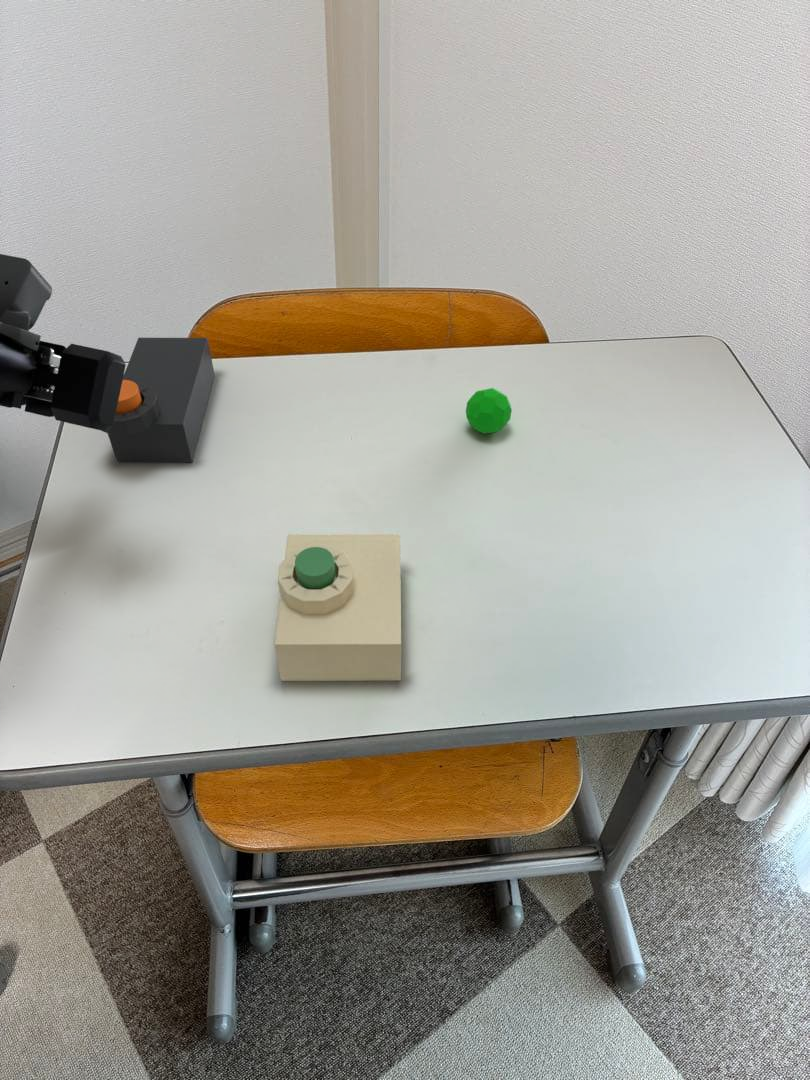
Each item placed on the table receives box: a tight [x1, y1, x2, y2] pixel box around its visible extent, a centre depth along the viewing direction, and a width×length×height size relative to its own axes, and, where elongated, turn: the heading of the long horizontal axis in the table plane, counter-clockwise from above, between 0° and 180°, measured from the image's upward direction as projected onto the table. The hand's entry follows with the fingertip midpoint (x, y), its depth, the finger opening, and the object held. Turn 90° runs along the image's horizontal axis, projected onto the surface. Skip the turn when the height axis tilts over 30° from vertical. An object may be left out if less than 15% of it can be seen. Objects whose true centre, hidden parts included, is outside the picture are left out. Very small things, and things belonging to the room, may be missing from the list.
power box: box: [274, 534, 402, 682], centre depth 68 cm, size 10×12×7 cm
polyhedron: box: [465, 387, 513, 435], centre depth 88 cm, size 5×5×5 cm
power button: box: [295, 547, 335, 589], centre depth 65 cm, size 3×3×2 cm
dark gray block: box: [102, 337, 215, 464], centre depth 87 cm, size 9×18×7 cm, turn 1°
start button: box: [116, 380, 142, 414], centre depth 80 cm, size 4×4×2 cm
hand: (75, 388), depth 73 cm, fingers closed
